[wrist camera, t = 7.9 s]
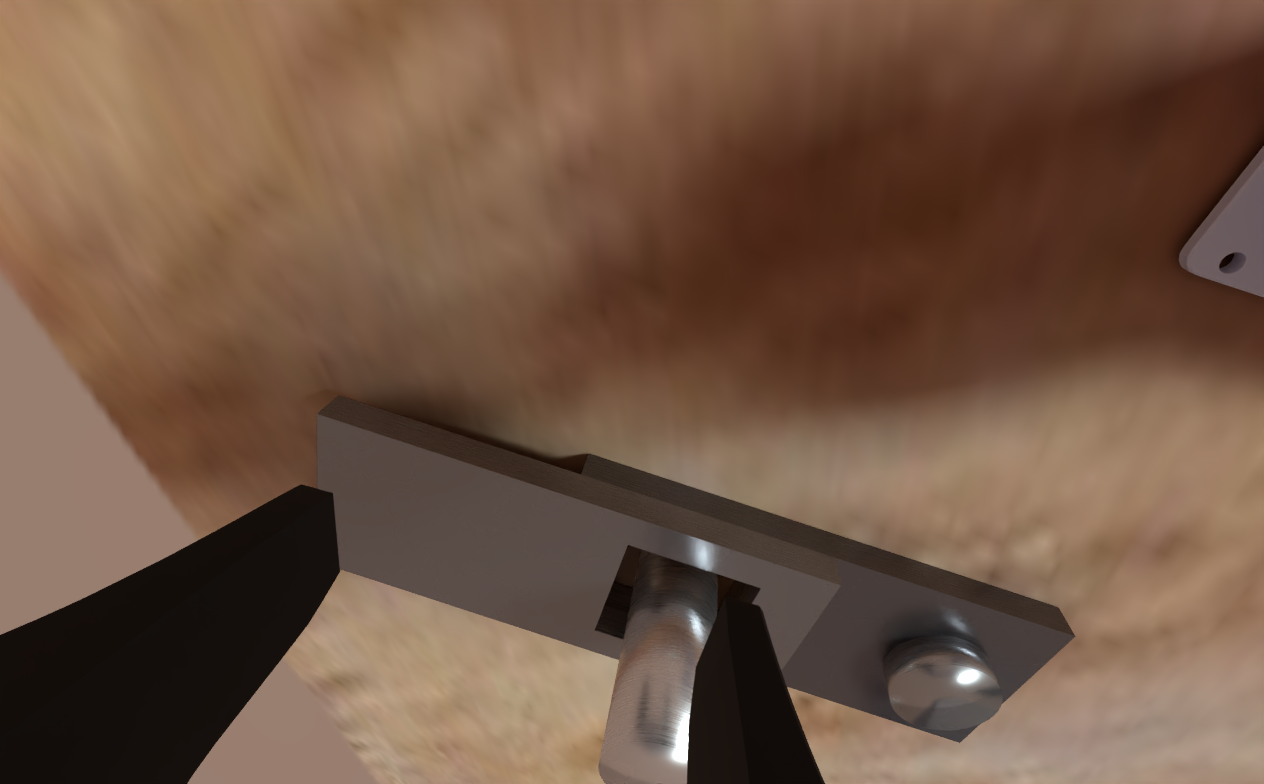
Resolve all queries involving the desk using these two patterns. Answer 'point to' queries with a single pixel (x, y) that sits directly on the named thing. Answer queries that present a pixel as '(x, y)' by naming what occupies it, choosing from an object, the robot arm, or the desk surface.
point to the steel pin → (658, 672)
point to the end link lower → (887, 623)
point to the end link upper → (533, 533)
